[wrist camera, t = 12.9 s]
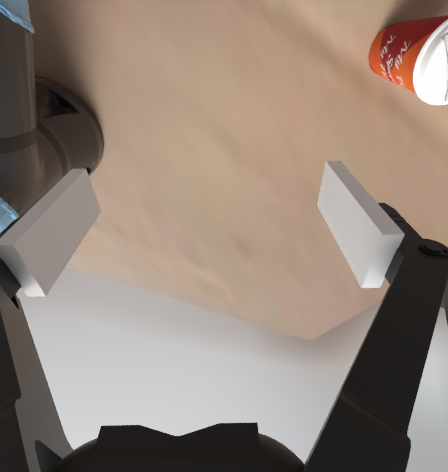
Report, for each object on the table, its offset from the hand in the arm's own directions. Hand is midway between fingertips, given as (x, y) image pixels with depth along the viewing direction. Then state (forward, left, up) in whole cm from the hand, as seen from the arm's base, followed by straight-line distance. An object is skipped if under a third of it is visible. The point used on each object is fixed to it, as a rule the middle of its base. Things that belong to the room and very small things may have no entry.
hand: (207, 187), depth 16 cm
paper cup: (+23, +4, -29) cm, 37 cm away
